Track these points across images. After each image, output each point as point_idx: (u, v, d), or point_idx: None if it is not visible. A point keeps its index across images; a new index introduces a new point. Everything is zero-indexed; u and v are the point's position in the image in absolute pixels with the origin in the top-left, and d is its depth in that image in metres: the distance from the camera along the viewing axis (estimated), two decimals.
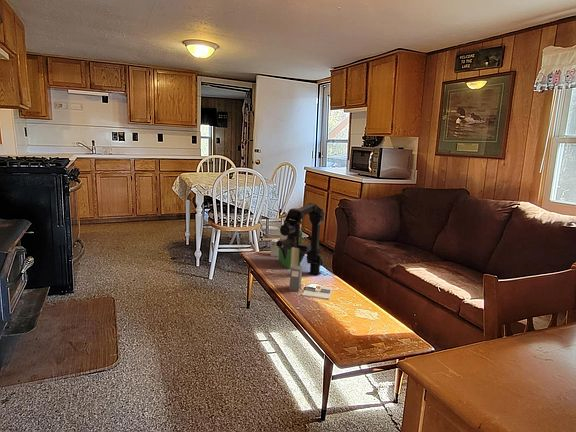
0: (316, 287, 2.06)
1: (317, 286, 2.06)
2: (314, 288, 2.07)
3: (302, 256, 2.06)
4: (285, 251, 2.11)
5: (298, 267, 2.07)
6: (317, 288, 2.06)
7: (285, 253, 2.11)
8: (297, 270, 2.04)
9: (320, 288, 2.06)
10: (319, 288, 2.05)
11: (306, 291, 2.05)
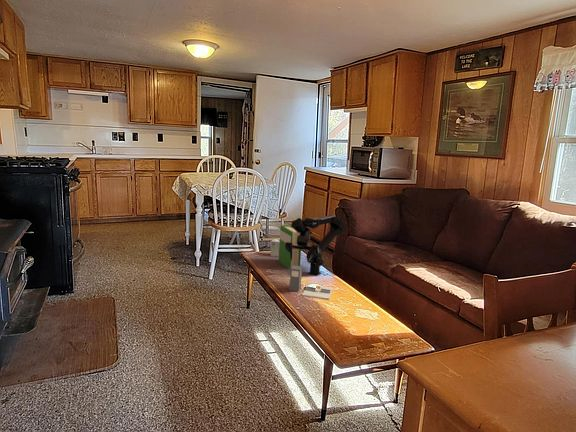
0: (316, 287, 2.06)
1: (317, 286, 2.06)
2: (314, 288, 2.07)
3: (310, 256, 2.15)
4: (292, 253, 2.17)
5: (298, 267, 2.07)
6: (317, 288, 2.06)
7: (292, 255, 2.17)
8: (297, 270, 2.04)
9: (320, 288, 2.06)
10: (319, 288, 2.05)
11: (306, 291, 2.05)
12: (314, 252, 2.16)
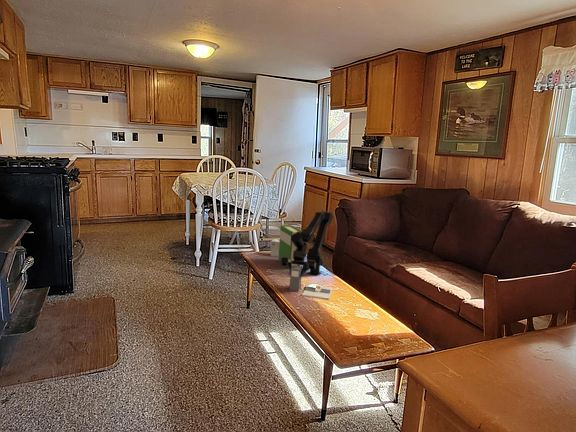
0: (316, 287, 2.06)
1: (317, 286, 2.06)
2: (314, 288, 2.07)
3: (303, 271, 2.08)
4: None
5: (298, 267, 2.07)
6: (317, 288, 2.06)
7: None
8: (297, 270, 2.04)
9: (320, 288, 2.06)
10: (319, 288, 2.05)
11: (306, 291, 2.05)
12: (307, 267, 2.09)
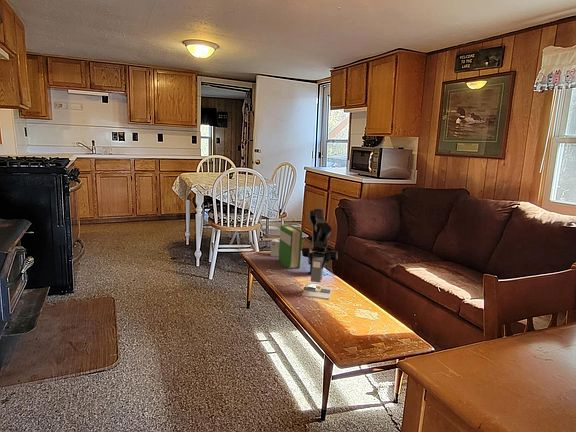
0: (316, 287, 2.06)
1: (317, 286, 2.06)
2: (314, 288, 2.07)
3: (325, 262, 2.04)
4: None
5: (319, 258, 2.04)
6: (317, 288, 2.06)
7: None
8: (319, 261, 2.00)
9: (320, 288, 2.06)
10: (319, 288, 2.05)
11: (306, 291, 2.05)
12: (329, 258, 2.05)
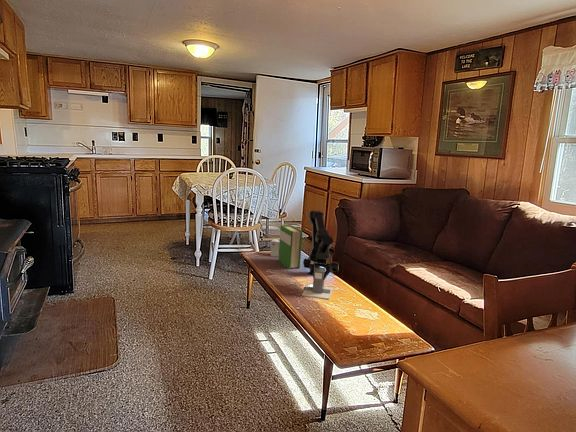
0: None
1: None
2: None
3: (326, 274, 2.05)
4: None
5: (321, 269, 2.05)
6: None
7: None
8: (320, 272, 2.01)
9: None
10: None
11: (306, 291, 2.05)
12: (330, 269, 2.06)
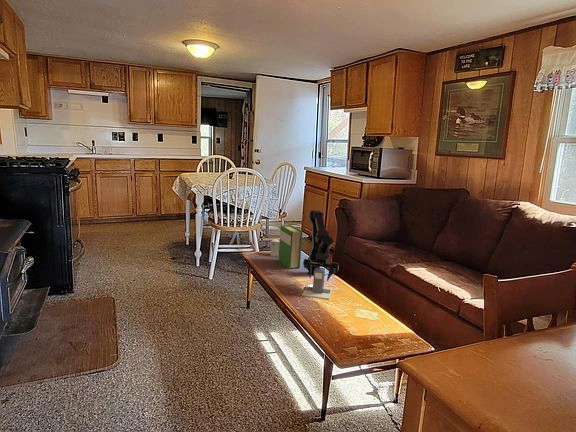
0: None
1: None
2: None
3: (330, 274, 2.05)
4: (310, 271, 2.07)
5: (321, 269, 2.05)
6: None
7: (310, 272, 2.07)
8: (321, 272, 2.01)
9: None
10: None
11: (306, 291, 2.05)
12: (334, 270, 2.06)
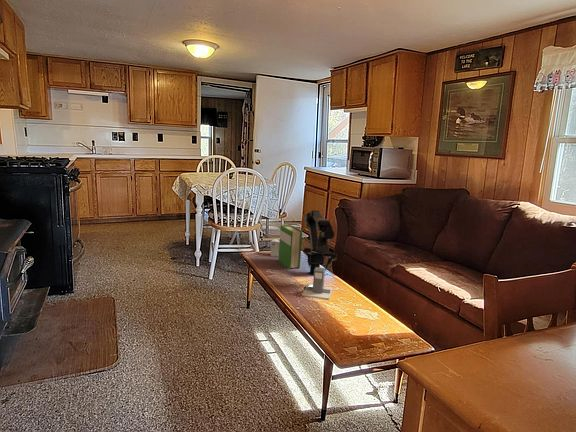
0: None
1: None
2: None
3: (328, 264, 2.15)
4: (310, 259, 2.16)
5: (321, 269, 2.05)
6: None
7: (310, 261, 2.16)
8: (321, 272, 2.01)
9: None
10: None
11: (306, 291, 2.05)
12: (332, 260, 2.15)
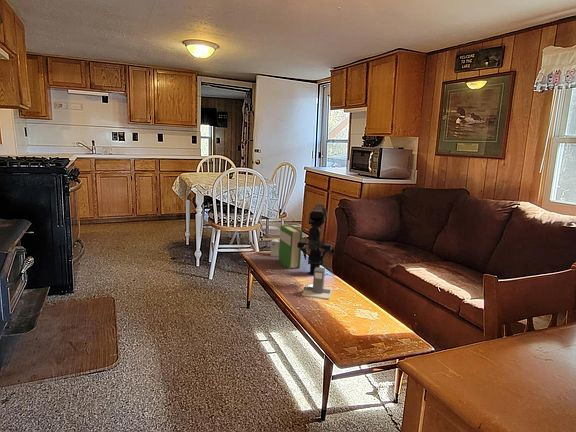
0: None
1: None
2: None
3: (324, 255, 2.16)
4: (305, 252, 2.18)
5: (321, 269, 2.05)
6: None
7: (305, 253, 2.18)
8: (321, 272, 2.01)
9: None
10: None
11: (306, 291, 2.05)
12: None
